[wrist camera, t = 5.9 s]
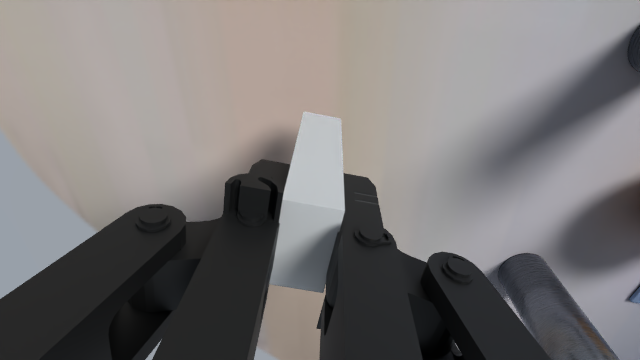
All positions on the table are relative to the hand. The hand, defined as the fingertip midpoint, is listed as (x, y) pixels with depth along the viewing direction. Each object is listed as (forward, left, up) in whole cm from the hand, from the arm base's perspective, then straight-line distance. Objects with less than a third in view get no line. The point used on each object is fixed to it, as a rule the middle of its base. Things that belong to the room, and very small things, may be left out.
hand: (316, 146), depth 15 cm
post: (-13, +6, -2) cm, 15 cm away
